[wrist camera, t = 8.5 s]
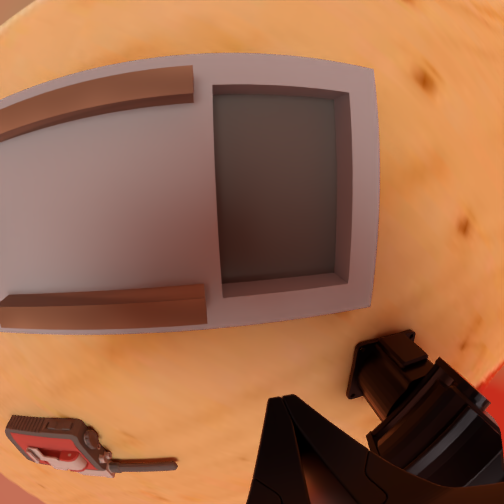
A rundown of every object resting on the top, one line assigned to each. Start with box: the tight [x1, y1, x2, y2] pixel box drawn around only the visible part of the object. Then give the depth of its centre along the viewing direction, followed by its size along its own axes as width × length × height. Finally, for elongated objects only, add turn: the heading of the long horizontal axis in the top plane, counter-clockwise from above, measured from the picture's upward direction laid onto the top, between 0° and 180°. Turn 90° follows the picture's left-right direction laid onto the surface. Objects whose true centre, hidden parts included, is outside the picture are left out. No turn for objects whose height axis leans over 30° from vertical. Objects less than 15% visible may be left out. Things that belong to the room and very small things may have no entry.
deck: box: [0, 53, 380, 335], centre depth 15 cm, size 16×36×2 cm, turn 92°
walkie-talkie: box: [5, 415, 178, 478], centre depth 20 cm, size 9×4×20 cm
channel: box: [0, 65, 208, 330], centre depth 13 cm, size 13×14×2 cm
